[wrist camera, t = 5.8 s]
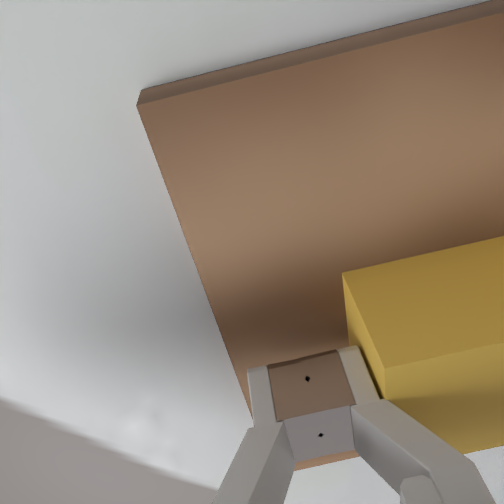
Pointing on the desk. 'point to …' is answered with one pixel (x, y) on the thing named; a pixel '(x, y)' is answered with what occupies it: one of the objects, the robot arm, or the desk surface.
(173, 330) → the desk surface
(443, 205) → the board
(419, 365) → the t block
